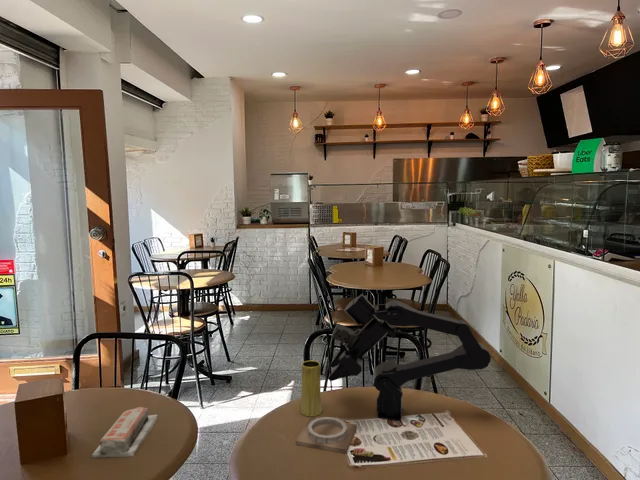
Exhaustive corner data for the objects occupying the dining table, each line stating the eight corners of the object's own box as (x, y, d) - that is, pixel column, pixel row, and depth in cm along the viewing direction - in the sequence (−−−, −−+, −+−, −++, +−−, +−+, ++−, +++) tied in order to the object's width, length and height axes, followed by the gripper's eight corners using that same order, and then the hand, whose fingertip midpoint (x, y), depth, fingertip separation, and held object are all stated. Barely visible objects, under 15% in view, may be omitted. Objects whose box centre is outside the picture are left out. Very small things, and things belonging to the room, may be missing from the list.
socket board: (356, 428, 117) (357, 419, 117) (346, 453, 106) (346, 443, 105) (310, 420, 121) (310, 412, 121) (295, 444, 110) (295, 435, 109)
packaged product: (133, 439, 104) (90, 441, 104) (134, 458, 105) (91, 460, 105) (157, 403, 122) (121, 404, 122) (158, 419, 123) (122, 420, 122)
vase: (319, 417, 123) (319, 368, 121) (298, 415, 124) (297, 367, 122) (323, 407, 128) (323, 360, 127) (303, 405, 130) (303, 358, 128)
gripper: (349, 307, 131) (312, 341, 133) (348, 325, 113) (306, 365, 115) (375, 333, 132) (338, 367, 134) (379, 356, 113) (336, 395, 115)
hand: (330, 372), depth 124 cm, fingers open, 9 cm apart
